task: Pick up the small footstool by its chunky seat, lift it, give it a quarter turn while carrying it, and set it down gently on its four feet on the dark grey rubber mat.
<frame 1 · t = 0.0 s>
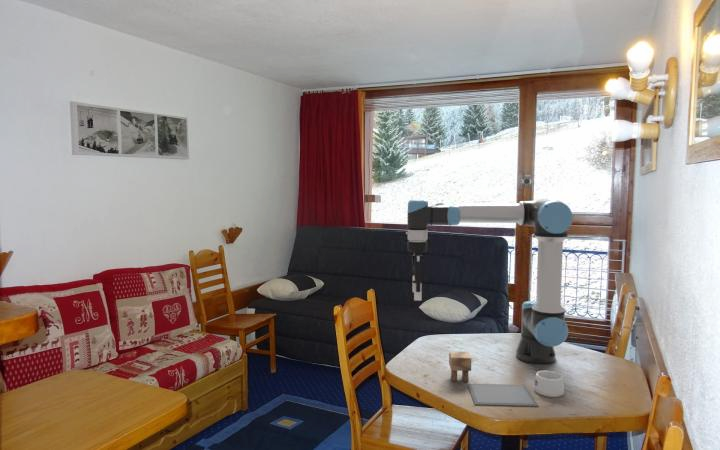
hand: (416, 296, 190), 28 cm above the table, fingers open, 13 cm apart
stool: (459, 379, 181), on the table
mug: (547, 391, 171), on the table
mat: (501, 395, 167), on the table
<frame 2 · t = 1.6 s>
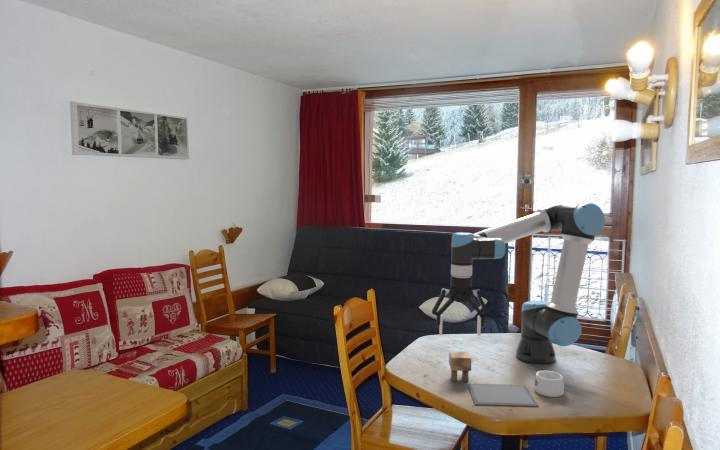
hand: (459, 334, 179), 17 cm above the table, fingers open, 13 cm apart
nothing on the table moved.
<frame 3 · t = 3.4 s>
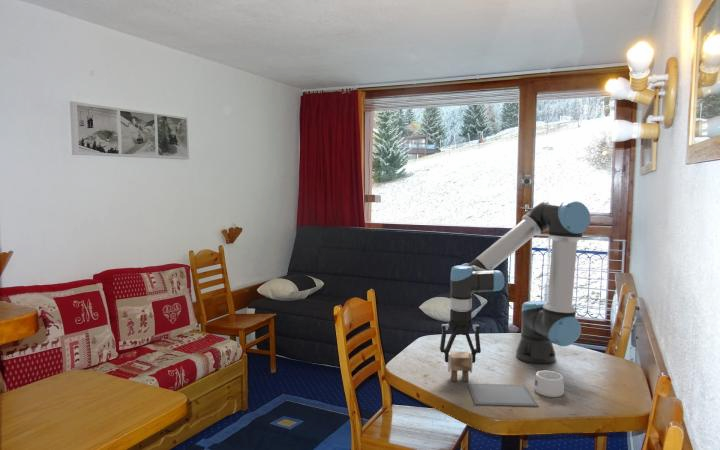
hand: (459, 370, 180), 3 cm above the table, fingers closed on stool, 7 cm apart
stool: (459, 379, 181), on the table, touching gripper
everything else where it was.
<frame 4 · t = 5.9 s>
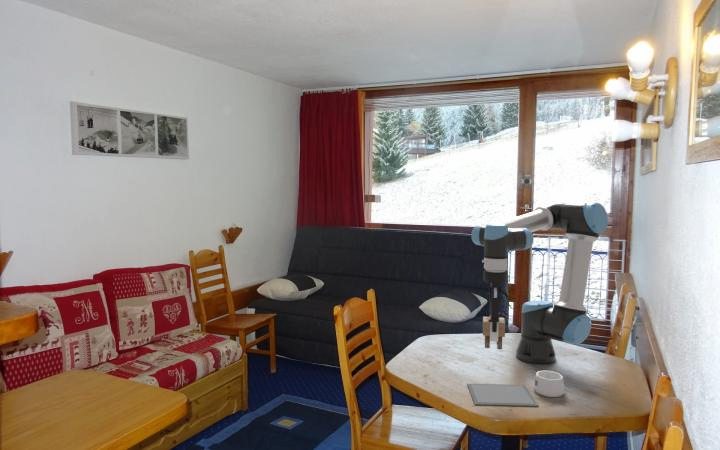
hand: (493, 337, 168), 19 cm above the table, fingers closed on stool, 7 cm apart
stool: (493, 346, 168), point 16 cm above the table, touching gripper
everything else where it was.
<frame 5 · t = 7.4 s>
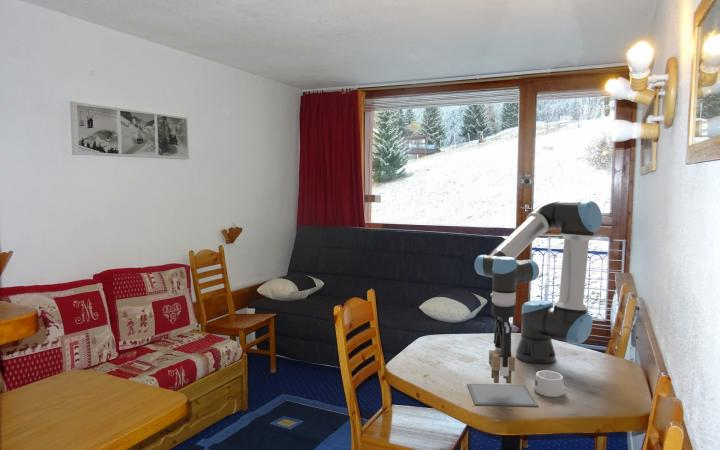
hand: (501, 371, 166), 8 cm above the table, fingers closed on stool, 7 cm apart
stool: (501, 379, 166), point 5 cm above the table, touching gripper
everything else where it was.
when the fingers open (4 cm above the table, at t = 8.6 s): stool stays where it is, resting on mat.
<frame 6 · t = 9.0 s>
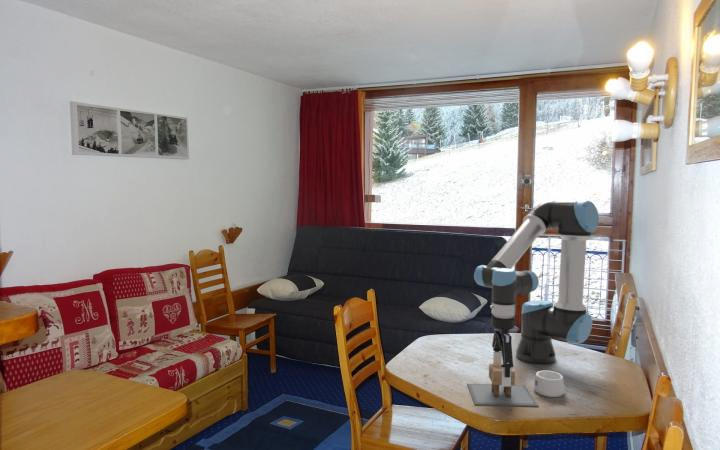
hand: (501, 377, 166), 6 cm above the table, fingers open, 13 cm apart
stool: (501, 393, 167), resting on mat
everything else where it was.
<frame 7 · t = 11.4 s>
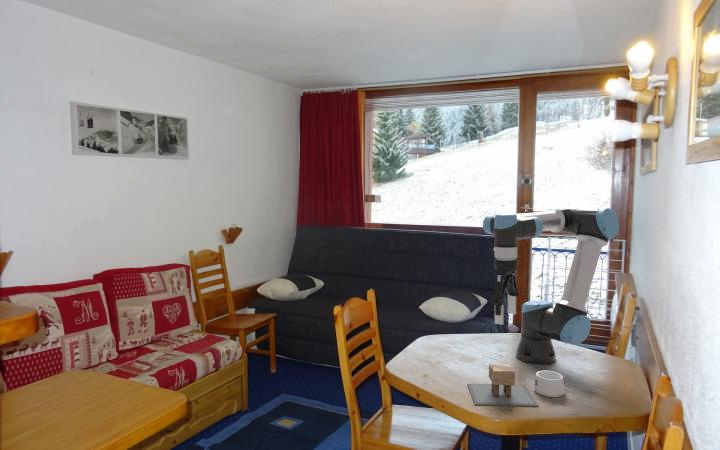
hand: (505, 318, 173), 24 cm above the table, fingers open, 13 cm apart
nothing on the table moved.
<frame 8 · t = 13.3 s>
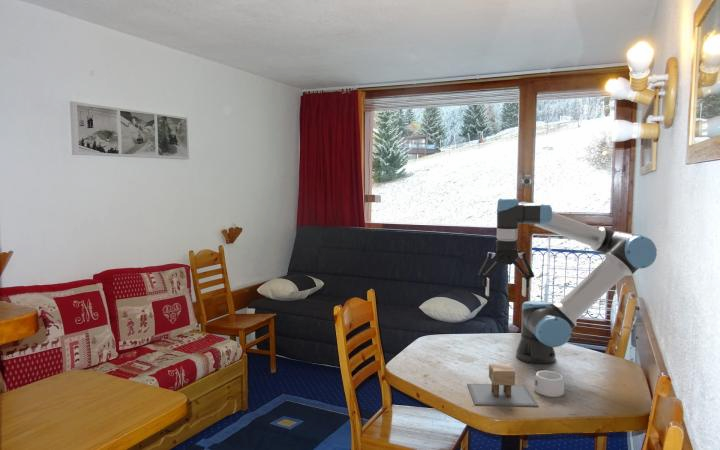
hand: (505, 295, 187), 29 cm above the table, fingers open, 13 cm apart
nothing on the table moved.
at the end: stool inside the target area on the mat (0.0 cm from its centre), point 0.5 cm above the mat's base; stool tilted 0°; the gripper is holding nothing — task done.
